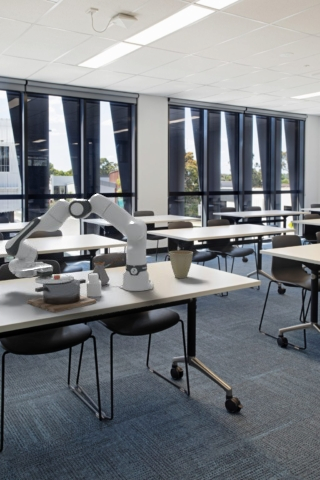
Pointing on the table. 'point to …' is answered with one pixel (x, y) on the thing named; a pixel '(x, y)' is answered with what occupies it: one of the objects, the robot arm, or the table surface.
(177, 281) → the table surface
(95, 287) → the medicine bottle
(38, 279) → the lid
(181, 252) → the plant pot
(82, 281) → the cooker pot
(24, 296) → the table surface
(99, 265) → the coffee pot
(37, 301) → the trivet
